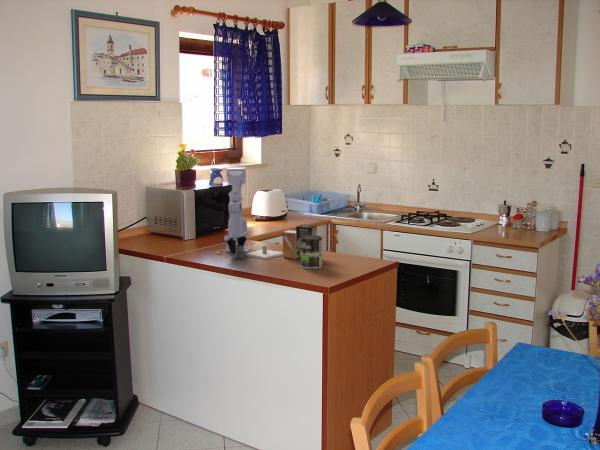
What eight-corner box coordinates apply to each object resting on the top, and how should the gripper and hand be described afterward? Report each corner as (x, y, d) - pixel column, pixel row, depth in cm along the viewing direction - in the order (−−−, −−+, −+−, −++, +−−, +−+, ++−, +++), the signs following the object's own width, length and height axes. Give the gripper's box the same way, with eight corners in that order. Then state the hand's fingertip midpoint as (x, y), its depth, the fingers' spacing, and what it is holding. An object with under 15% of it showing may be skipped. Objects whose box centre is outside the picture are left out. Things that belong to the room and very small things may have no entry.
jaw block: (229, 255, 346) (229, 246, 345) (236, 254, 349) (236, 244, 348) (241, 257, 341) (240, 248, 340) (248, 256, 344) (247, 246, 343)
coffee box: (295, 258, 344) (295, 226, 342) (301, 255, 350) (300, 224, 347) (312, 259, 340) (311, 227, 338) (317, 257, 346) (317, 225, 343)
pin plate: (245, 256, 352) (245, 246, 351) (264, 251, 362) (263, 241, 362) (265, 259, 343) (265, 249, 342) (284, 254, 354) (283, 244, 353)
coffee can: (311, 270, 320) (311, 240, 317) (296, 266, 327) (295, 237, 324) (327, 266, 327) (326, 236, 324) (311, 263, 334) (311, 234, 332)
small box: (282, 257, 348) (282, 231, 346) (290, 254, 353) (289, 229, 351) (295, 258, 343) (295, 233, 341) (303, 256, 348) (302, 231, 346)
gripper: (231, 228, 335) (232, 256, 338) (251, 224, 346) (252, 250, 349) (221, 227, 340) (222, 254, 342) (241, 223, 351) (242, 249, 353)
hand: (236, 252), depth 346 cm, fingers closed on jaw block, 5 cm apart
